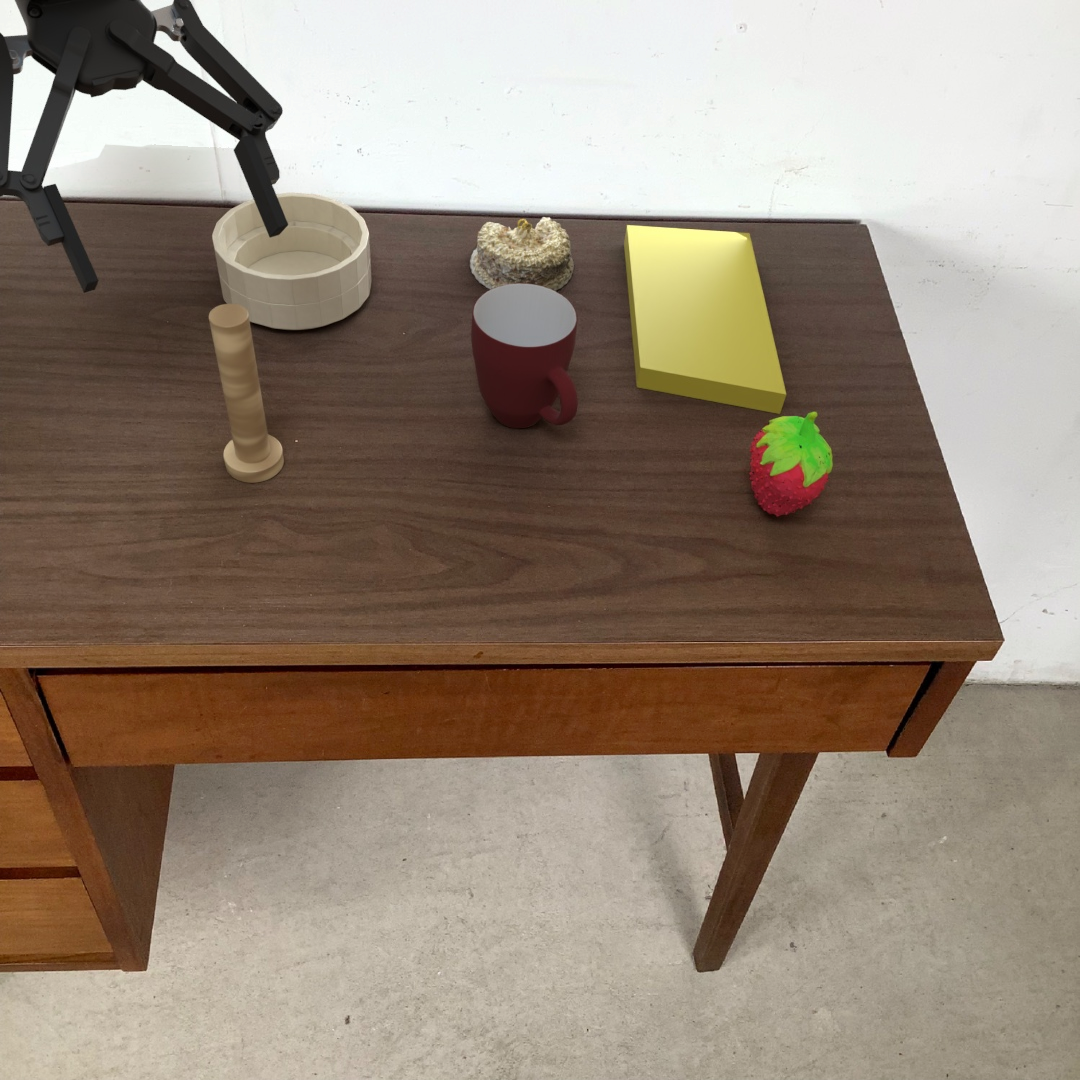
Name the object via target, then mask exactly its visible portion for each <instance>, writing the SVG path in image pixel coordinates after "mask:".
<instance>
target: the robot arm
mask: <svg viewBox="0 0 1080 1080" xmlns="http://www.w3.org/2000/svg"><path fill="white" fill-rule="evenodd" d="M14 2H15V4H16V6H17V9H18V11H19V13H20V16H21V18H22V20H23V22H24V26H25V28H26V34H20V35H19V34H17V35H6V36H4V34H3V33H1V32H0V197H3V196H7V197H16V198H18V199H20V200H21V201H22V202H23V203H24V204H25V206H26V208H27V210H28V212H29V214H30V216H31V219H32V221H33V223H34V225H35V228H36V230H37V232H38V234H39V236H40V239H41V240H42V241H43V242H44V244H45V245H46V246H48V247H50V246H53V245H57V244H61V246H62V248H63V249H64V252H65V254H66V256H67V258H68V261H69V263H70V265H71V267H72V270H73V272H74V274H75V277H76V279H77V282H78V283H79V285H80V287H81V290H82V292H83V294H86V293H88V292H92V291H95V290H96V288H97V286H98V283H99V278H98V276H97V274H96V272H95V269H94V267H93V265H92V263H91V260H90V258H89V255H88V253H87V251H86V249H85V247H84V245H83V242H82V240H81V238H80V235H79V233H78V231H77V229H76V226H75V224H74V222H73V219H72V218H71V216H70V215H71V214H70V213H69V211H68V208H67V205H66V204H65V202H64V200H63V197H62V194H61V192H60V190H59V188H58V186H57V184H56V183H52V184H49V185H45V186H43V183H44V180H45V177H46V174H47V171H48V169H49V166H50V163H51V161H52V157H53V155H54V152H55V149H56V146H57V143H58V141H59V138H60V136H61V133H62V130H63V126H64V124H65V121H66V118H67V114H68V112H69V111H70V108H71V106H72V103H73V100H74V97H75V95H76V91H77V92H79V93H81V94H84V95H90V98H96V97H99V96H104V95H105V94H107V93H109V92H111V91H114V90H115V91H128V90H131V89H135V88H137V86H138V85H139V84H140V83H141V82H142V81H143V82H144V83H146V84H147V85H149V86H150V87H152V88H154V89H156V90H158V91H163V92H165V93H166V94H168V95H170V96H171V97H173V98H174V99H175V100H177V101H179V102H180V103H182V104H183V105H185V106H186V107H188V108H190V109H191V110H192V111H194V112H195V113H197V114H198V115H200V116H201V117H203V118H205V119H206V120H208V121H210V122H211V123H212V124H214V125H215V126H217V127H219V128H220V129H222V130H223V131H224V132H226V133H228V134H229V135H230V136H232V137H234V139H237V140H238V142H237V143H236V145H235V147H234V148H233V153H234V155H235V157H236V160H237V162H238V165H239V167H240V169H241V172H242V174H243V176H244V177H243V178H244V179H245V182H246V184H247V187H248V189H249V191H250V194H251V196H252V199H254V201H255V203H256V206H257V208H258V211H259V213H260V215H261V218H262V220H263V223H264V225H265V228H266V230H267V232H268V235H269V237H270V238H271V237H274V236H277V235H280V233H281V232H282V231H283V230H284V229H285V228H286V227H287V226H288V222H287V220H286V217H285V215H284V213H283V210H282V208H281V205H280V203H279V200H278V198H277V196H276V194H277V193H276V191H275V189H274V185H275V184H276V183H277V182H278V181H279V179H280V168H279V165H278V164H277V161H276V159H275V157H274V153H273V151H272V149H271V146H270V144H269V142H268V139H267V135H266V133H267V132H268V131H270V130H272V129H273V128H274V127H275V125H276V124H277V123H278V121H279V120H280V118H281V117H282V115H283V107H282V105H281V104H280V102H278V100H277V99H276V98H275V97H274V96H273V95H271V94H270V92H269V91H268V90H267V89H266V88H265V87H264V86H263V85H262V84H261V83H260V82H259V81H258V80H257V79H256V78H255V77H254V76H253V74H251V73H250V72H249V71H248V70H247V69H246V68H245V67H244V66H243V65H242V64H241V63H240V61H239V60H238V59H237V58H236V57H235V56H233V54H232V53H231V52H230V51H229V50H228V49H227V48H226V47H225V46H224V45H223V44H222V43H221V42H220V41H219V40H218V39H217V38H216V37H215V36H214V35H213V34H212V33H211V32H210V30H208V28H207V27H206V26H205V25H204V24H203V22H202V19H201V18H200V16H199V14H198V13H197V11H196V9H195V7H194V5H193V3H192V1H191V0H173V1H172V4H170V5H167V6H163V7H160V8H158V9H154V10H150V9H149V8H148V7H147V6H146V5H145V4H144V3H143V2H142V0H14ZM157 32H162V33H164V34H166V35H167V36H168V37H169V38H170V40H171V41H172V42H179V43H180V45H181V46H182V47H183V49H184V50H185V52H186V53H187V54H188V55H189V56H190V57H191V58H192V59H193V60H194V61H195V62H196V63H197V64H198V65H199V66H200V67H201V68H202V69H203V70H204V71H205V72H206V73H207V74H208V75H209V76H210V77H211V78H212V79H213V80H214V81H215V82H216V83H217V84H218V85H219V86H220V87H221V88H222V89H223V90H224V91H225V92H226V93H227V94H228V95H226V94H225V93H223V92H222V91H220V90H219V89H217V88H216V87H215V86H213V85H212V84H210V83H208V82H206V81H205V80H204V79H202V78H201V77H199V76H198V75H196V74H195V73H193V72H192V71H191V70H189V69H187V68H186V67H184V66H183V65H181V64H180V63H179V62H177V60H176V59H175V57H174V56H173V54H171V53H170V52H168V51H166V50H165V49H163V48H162V47H161V46H159V45H158V44H156V43H155V39H156V35H157ZM28 57H31V58H32V59H33V60H34V61H35V62H36V63H38V64H40V66H42V67H43V68H45V69H46V70H47V71H49V72H50V73H52V74H53V75H54V78H53V81H52V83H51V87H50V90H49V94H48V96H47V99H46V102H45V105H44V107H43V110H42V113H41V116H40V118H39V121H38V124H37V127H36V130H35V133H34V136H33V138H32V141H31V144H30V146H29V149H28V151H27V155H26V158H25V160H24V163H23V166H22V168H21V171H19V170H10V169H9V160H10V159H9V158H10V144H11V143H10V142H11V130H12V129H11V128H12V116H13V115H12V114H13V98H14V97H13V96H14V83H15V81H14V79H15V78H14V77H15V76H14V75H18V74H20V73H21V72H22V71H23V69H24V60H25V59H26V58H28Z"/></svg>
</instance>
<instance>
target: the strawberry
mask: <svg viewBox="0 0 1080 1080" xmlns="http://www.w3.org/2000/svg"><path fill="white" fill-rule="evenodd" d="M817 417H818V412H817V411H812V412H809V413H807V415H805V417H802V416H799V415H784V416H783V415H782V416H780V417H776V418H773V419H769V420H768V423H767V424H766V425H764V427H762V429H760V430H758V432H757V433H756V434H755V436H754V437H753V441H751V442H750V443H751V445H750V446H749V448H750V450H749V453H750V455H751V456H750V458H749V460H750V461H751V462H750V463H749V465H750V467H749V470H751V471H750V472H749V476H750V477H749V481H750V483H751V485H750V486H751V488H750V489H751V490H752V491H753V493H754V499H756V500H757V505H758V506H760V508H761V509H762V511H765V512H766V513H767V514H768V515H775V516H776V517H781V516H783V515H785V516H786V515H788V514H790V513H795V512H796V511H797V510H799V509H800V510H802V509H803V508H804V507H807V506H808V505H812V501H813V500H814V499H816V498H818V497H820V493H822V491H823V490H825V485H826V484H827V482H829V474H830V473H832V469H833V466H834V464H833V463H834V462H833V458H834V457H833V454H832V448H831V446H830V445H829V444H828V442H827V441H826V439H824V437H823V436H822V435H821V434H820V432H821V430H820V428H819V427H818V426H817V425H816V424H815V420H816V418H817Z"/></svg>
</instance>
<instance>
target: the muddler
mask: <svg viewBox="0 0 1080 1080" xmlns="http://www.w3.org/2000/svg"><path fill="white" fill-rule="evenodd" d="M208 321H209V322H208V323H209V327H210V331H211V336H212V342H213V346H214V353H215V357H216V363H217V368H218V372H219V379H220V383H221V387H222V393H223V398H224V403H225V407H226V413H227V419H228V424H229V428H230V433H231V434H230V435H231V440H230V441H229V442H228V443H227V444H226V446H225V447H224V448H223V449H224V450H223V454H222V455H223V462H224V465H225V466H224V467H225V470H226V472H227V474H228V475H229V476H230V477H232V478H233V479H235V480H237V481H239V482H242V483H246V484H247V483H249V484H255V483H257V484H258V483H262V482H265V481H268V480H270V479H272V478H274V477H275V476H276V475H278V474H279V473H280V472H281V470H282V469H283V466H284V463H285V457H284V450H283V446H282V444H281V442H280V441H279V440H278V439H277V437H274V436H273V435H270V434H269V433H268V427H267V421H266V415H265V407H264V403H263V397H262V391H261V384H260V378H259V372H258V371H259V370H258V366H257V359H256V352H255V347H254V341H253V333H252V327H251V322H250V321H249V315H248V311H247V310H246V309H245V308H244V307H243V306H240V305H237V304H227V303H224V304H219V305H217V306H214V308H213V309H211V310H210V312H209V313H208Z"/></svg>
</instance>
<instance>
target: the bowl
mask: <svg viewBox="0 0 1080 1080" xmlns="http://www.w3.org/2000/svg"><path fill="white" fill-rule="evenodd" d="M276 196H277V198H278V200H279V203H280V205H281V208H282V210H283V213H284V215H285V217H286V220H287V222H288V226H287V227H286V228H285V229H284V230H283V231H282V232H281V233H280V235H277V236H274V237H271V238H270V237H269V235H268V232H267V230H266V228H265V225H264V223H263V220H262V218H261V215H260V213H259V211H258V208H257V206H256V203H255V201H254V199H253V198H252V199H249V200H245V201H244V202H242V203H240V204H238V205H236V206H234V207H233V208H231V209H229V210H227V212H226V213H225V214H223V216H222V217H221V218H220V219H218V221H217V222H216V224H215V226H214V229H213V231H212V235H211V240H212V244H213V245H212V246H213V250H214V255H215V261H216V262H215V263H216V266H217V272H218V278H219V282H220V283H219V284H220V290H221V293H222V298H223V300H224V302H225V304H237V305H240V306H243V307H244V308H245V309H246V310H247V311H248V315H249V321H250V323H254V324H257V325H261V326H264V327H267V328H271V329H277V330H286V331H305V330H313V329H317V328H322V327H325V326H328V325H330V324H333V323H336V322H339V321H341V320H344V319H345V318H347V317H348V316H350V315H352V314H353V313H354V312H356V311H358V310H359V309H360V308H361V307H362V306H363V304H364V303H365V301H366V300H367V299H368V298H369V296H370V293H371V287H372V281H373V279H372V262H371V246H370V243H371V242H370V231H369V229H368V226H367V224H366V223H367V222H366V221H365V219H364V217H362V216H361V214H359V213H358V212H357V211H356V210H355V209H354V208H353V207H352V206H349V205H347V204H345V203H343V202H341V201H339V200H338V199H335V198H331V197H329V196H323V195H318V194H316V193H315V194H314V193H306V192H305V193H302V192H283V193H276Z"/></svg>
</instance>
